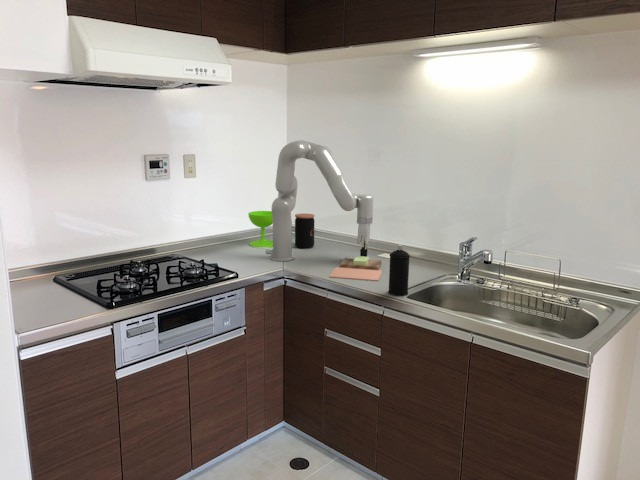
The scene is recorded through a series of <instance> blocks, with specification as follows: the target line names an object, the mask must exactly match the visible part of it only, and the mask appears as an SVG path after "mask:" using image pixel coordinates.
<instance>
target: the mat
mask: <svg viewBox="0 0 640 480" xmlns="http://www.w3.org/2000/svg"><path fill="white" fill-rule="evenodd" d="M382 273H383V270H381V269H379V270H370V269H356V268H343V267H339V266H336V267H335V268H334V269H333V271H332V272H331V273H330V275H328V278H331V279H333V278H334V279H335V278H336V279H344V280H345V279H346V280H356V279H357V280H358V281H360V280H361V281H369V280H370V281H371V282H379V279H380V278H381V276H382Z"/></svg>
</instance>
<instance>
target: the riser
mask: <svg viewBox="0 0 640 480" xmlns="http://www.w3.org/2000/svg"><path fill="white" fill-rule="evenodd" d="M354 259H355V258H349V257H347V258H346V257H345V258H344V259H343V260H342V262H341V263H340V267H343V268H356V269H370V270H381V267H382V260H378V259H377V260H375V259H369V261H368V263H367V265H366V266H365V265H353V261H354Z"/></svg>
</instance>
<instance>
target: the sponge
mask: <svg viewBox="0 0 640 480" xmlns="http://www.w3.org/2000/svg"><path fill="white" fill-rule="evenodd" d="M353 259H354V261H353V265H365V266H366V265H367V263H368V261H369V260H370V257H369V256H367V257H363V256H360V255H359V256H358V255H356V256H355V258H353Z"/></svg>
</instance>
